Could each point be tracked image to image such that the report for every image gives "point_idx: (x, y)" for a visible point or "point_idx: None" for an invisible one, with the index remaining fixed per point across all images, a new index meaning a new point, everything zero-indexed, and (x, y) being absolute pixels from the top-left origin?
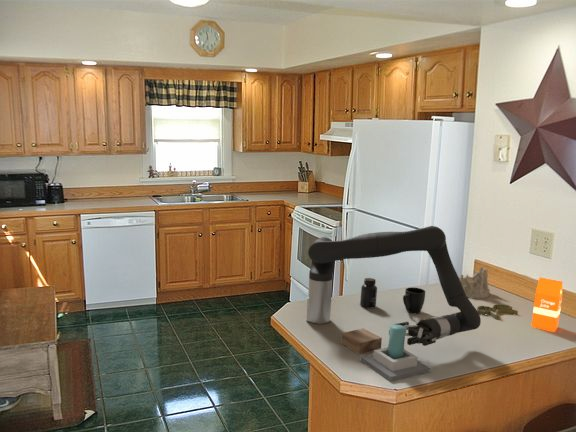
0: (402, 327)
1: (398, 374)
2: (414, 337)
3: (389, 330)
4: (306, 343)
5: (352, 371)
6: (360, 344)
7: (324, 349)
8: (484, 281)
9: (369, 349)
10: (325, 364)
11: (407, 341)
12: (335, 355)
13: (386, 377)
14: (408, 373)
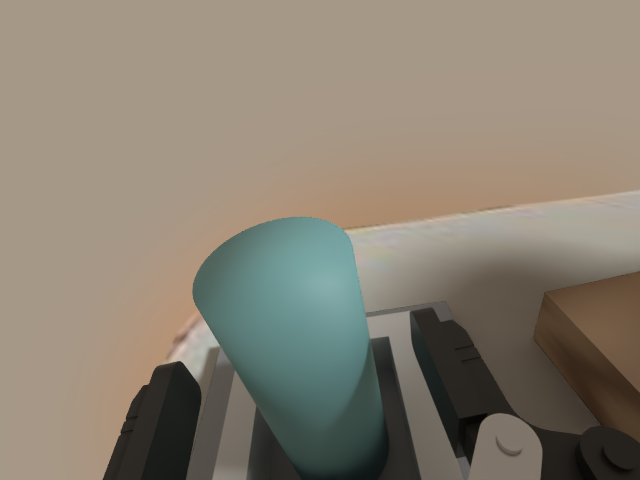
0: (246, 299)
1: (217, 375)
2: (132, 436)
3: (425, 310)
4: (632, 198)
5: (357, 265)
6: (545, 302)
7: (574, 233)
8: None
9: (591, 400)
10: (427, 218)
11: (188, 374)
12: (508, 252)
13: None
14: (198, 439)
